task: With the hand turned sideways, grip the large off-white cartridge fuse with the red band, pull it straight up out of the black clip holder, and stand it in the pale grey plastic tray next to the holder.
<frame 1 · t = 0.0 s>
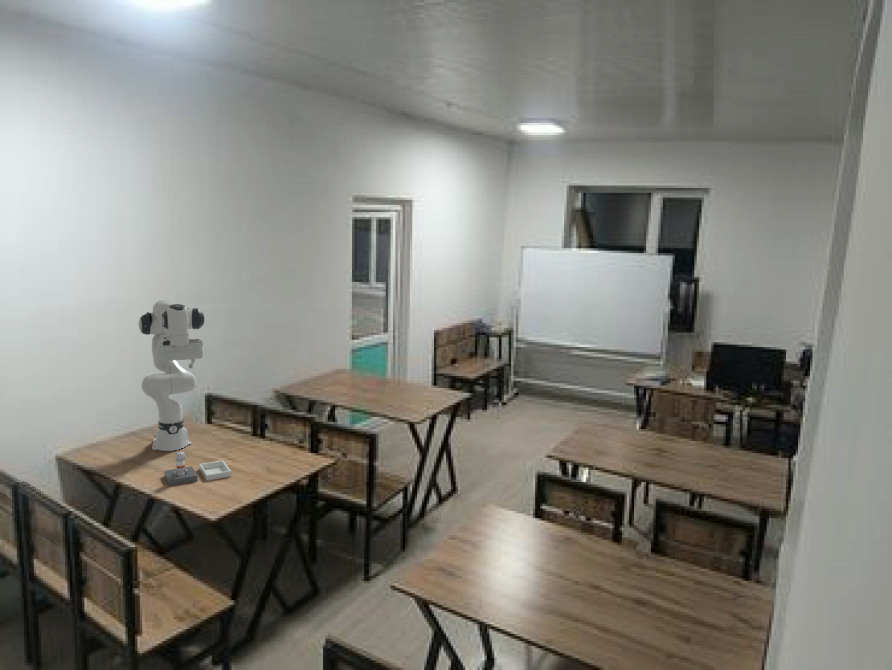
hand: (180, 369, 302), 48 cm above the table, tool pointing down, fingers open, 8 cm apart
fuse: (180, 478, 295), point 1 cm above the table, touching fuse holder
tray: (215, 474, 303), on the table
fuse holder: (181, 480, 295), on the table
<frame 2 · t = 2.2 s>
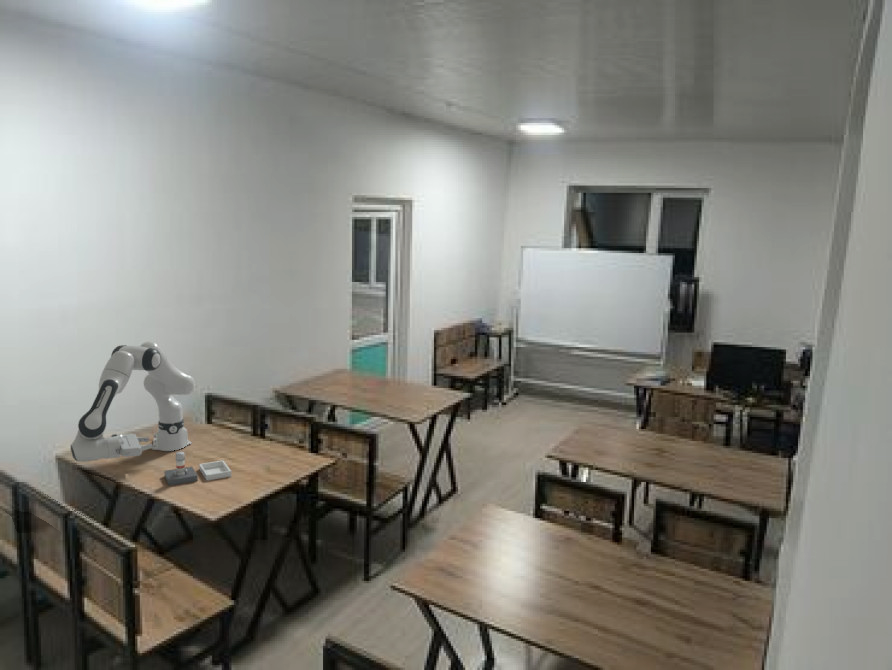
hand: (150, 442, 285), 20 cm above the table, tool horizontal, fingers open, 8 cm apart
nothing on the table moved.
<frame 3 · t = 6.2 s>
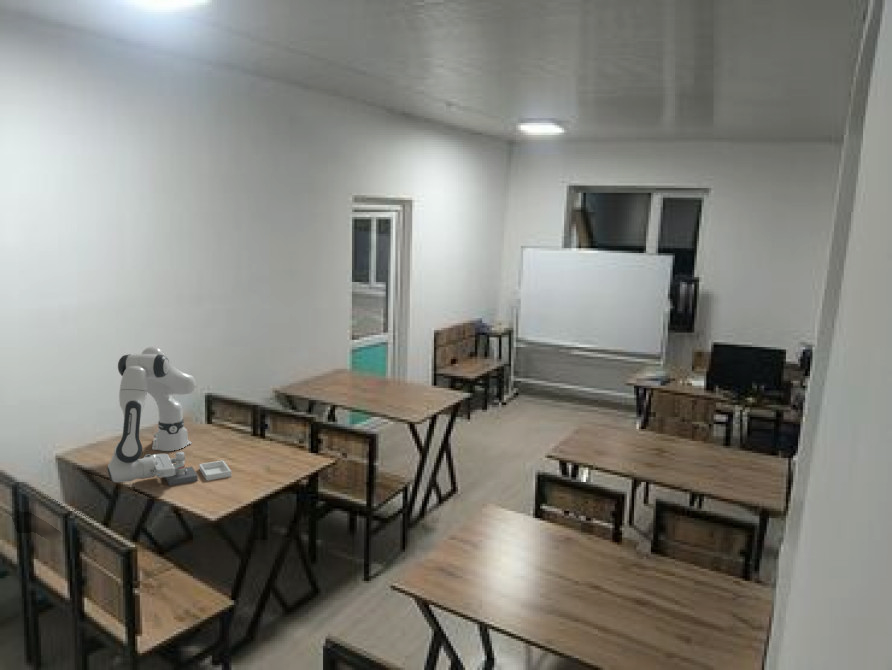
hand: (182, 462, 294), 9 cm above the table, tool horizontal, fingers closed on fuse, 3 cm apart
fuse: (180, 478, 295), point 1 cm above the table, touching fuse holder, gripper
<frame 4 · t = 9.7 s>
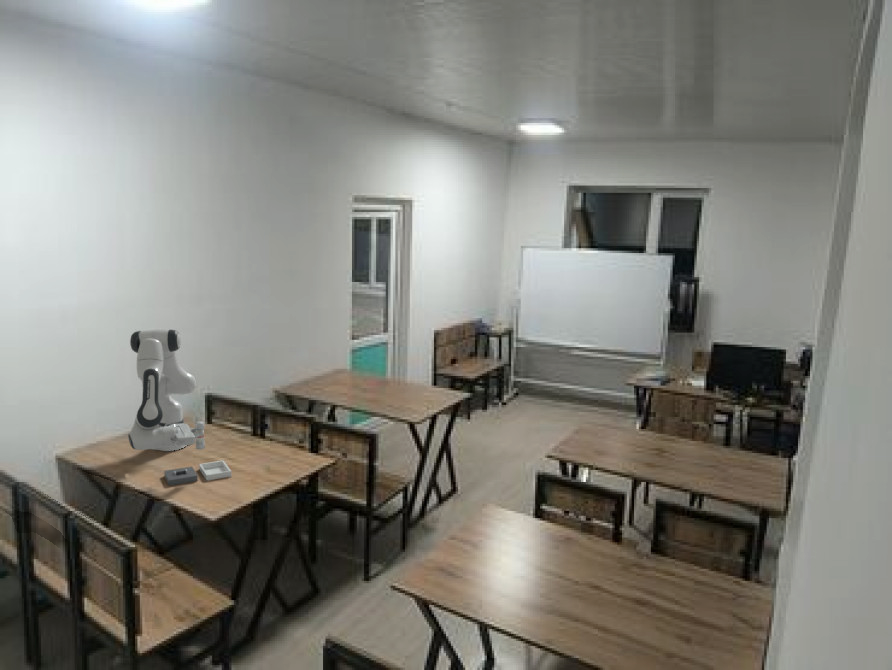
hand: (202, 431, 297), 22 cm above the table, tool horizontal, fingers closed on fuse, 3 cm apart
fuse: (200, 447, 298), point 14 cm above the table, touching gripper
when the fingers open (10 cm above the table, at t = 12.7 s): fuse drops 1 cm, resting on tray.
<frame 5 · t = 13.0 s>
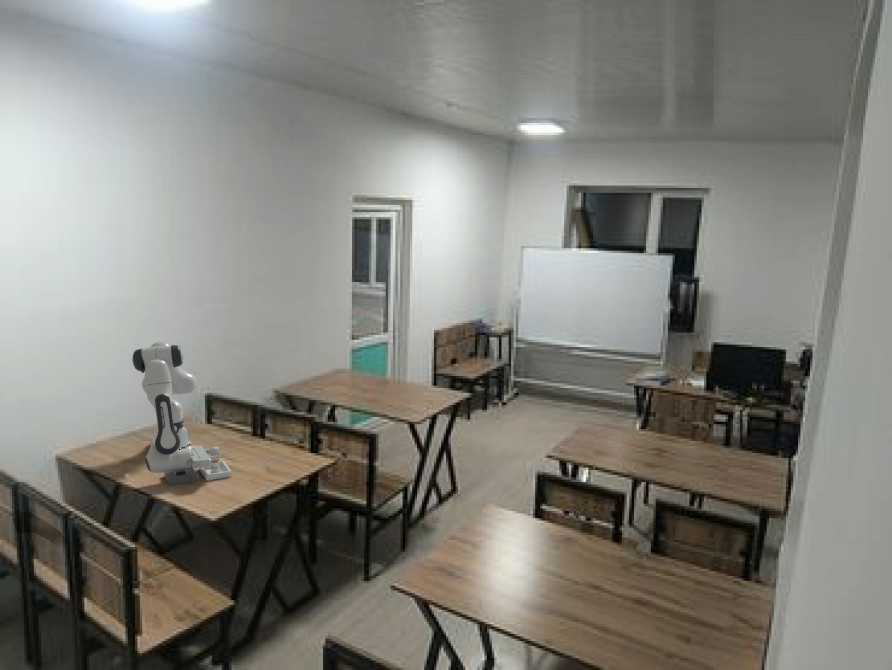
hand: (216, 453, 302), 10 cm above the table, tool horizontal, fingers open, 6 cm apart
fuse: (215, 472, 303), point 1 cm above the table, touching tray
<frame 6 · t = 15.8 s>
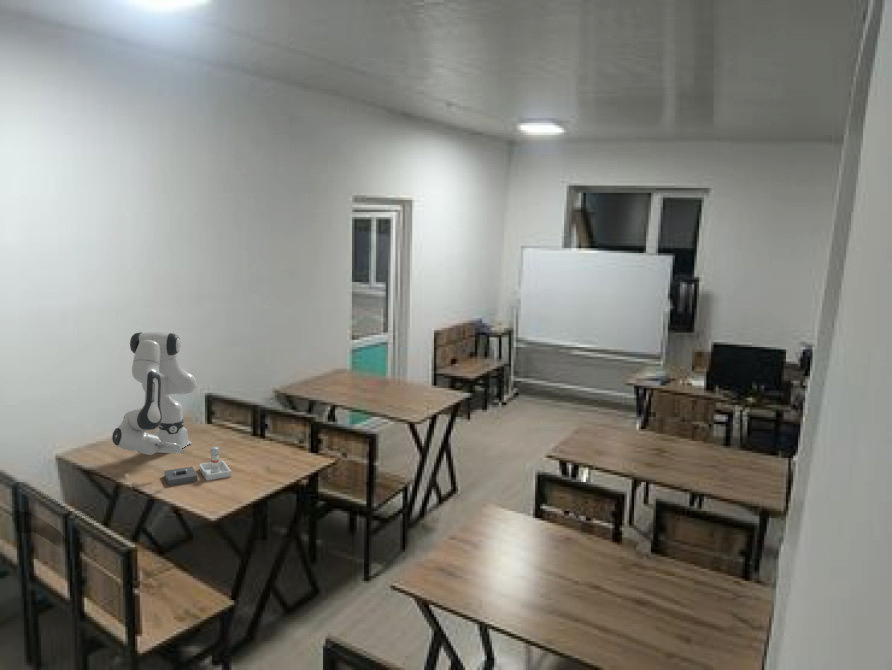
hand: (177, 451, 297), 12 cm above the table, tool tilted 65°, fingers open, 8 cm apart
nothing on the table moved.
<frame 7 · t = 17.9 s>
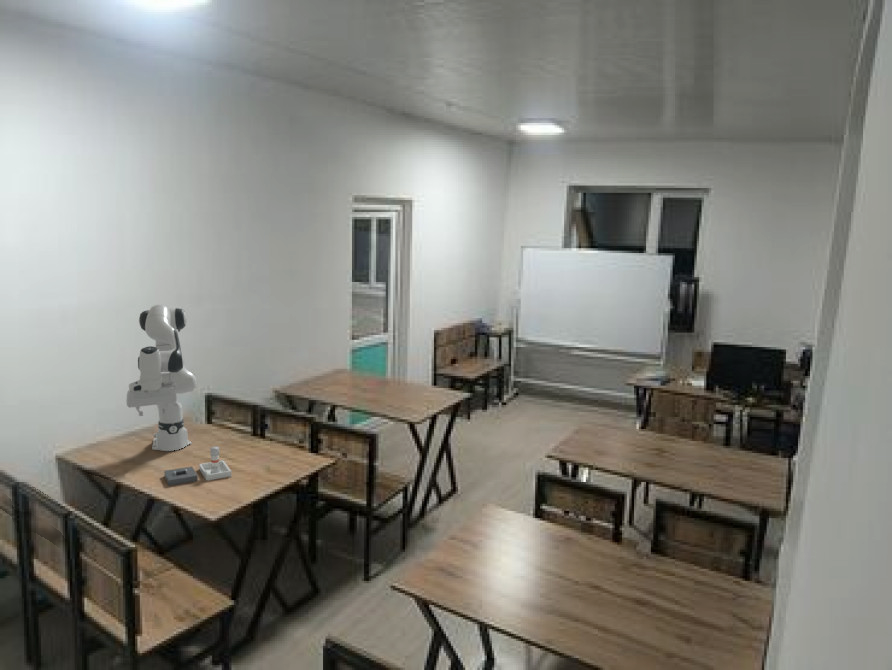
hand: (152, 414, 289), 31 cm above the table, tool pointing down, fingers open, 8 cm apart
nothing on the table moved.
at the end: fuse inside the target area on the tray (0.1 cm from its centre), point 1.0 cm above the tray's base; fuse tilted 0°; the gripper is holding nothing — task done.
